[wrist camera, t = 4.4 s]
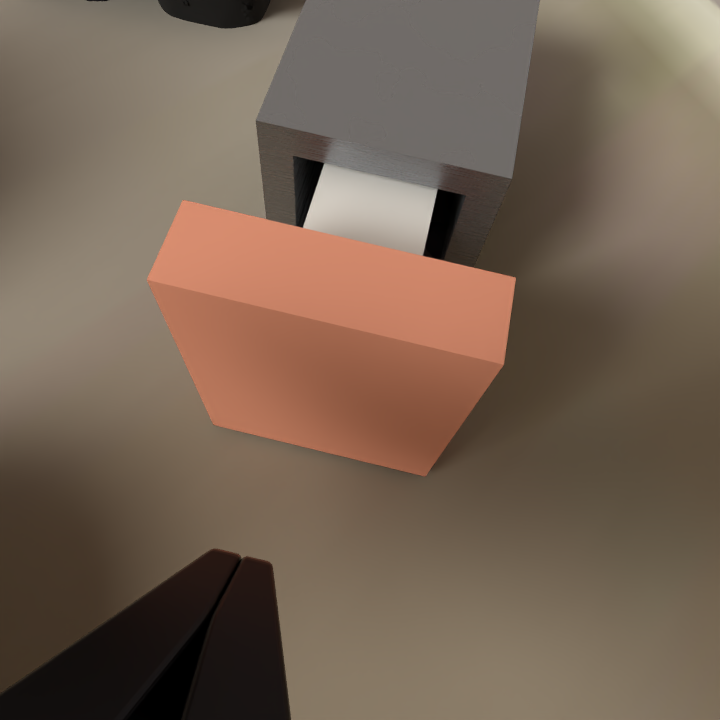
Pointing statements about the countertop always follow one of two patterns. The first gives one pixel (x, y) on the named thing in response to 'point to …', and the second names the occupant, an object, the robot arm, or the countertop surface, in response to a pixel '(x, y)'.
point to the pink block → (334, 322)
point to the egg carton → (216, 11)
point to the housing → (402, 107)
